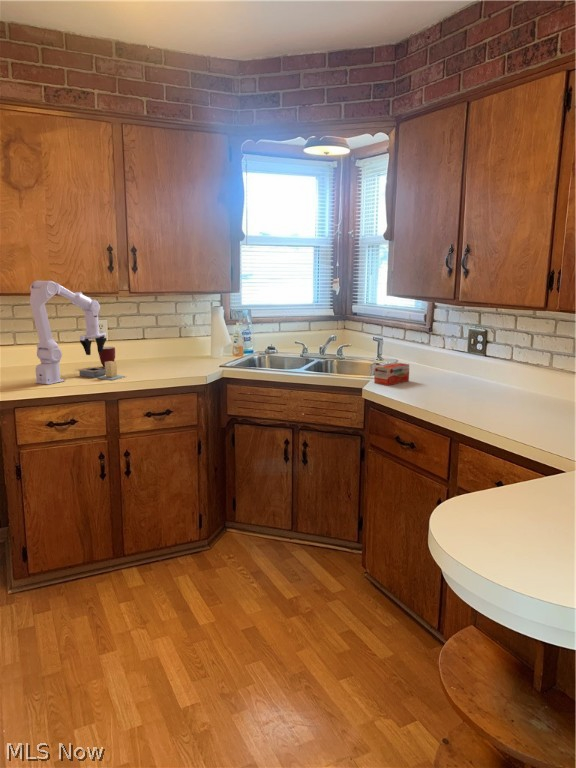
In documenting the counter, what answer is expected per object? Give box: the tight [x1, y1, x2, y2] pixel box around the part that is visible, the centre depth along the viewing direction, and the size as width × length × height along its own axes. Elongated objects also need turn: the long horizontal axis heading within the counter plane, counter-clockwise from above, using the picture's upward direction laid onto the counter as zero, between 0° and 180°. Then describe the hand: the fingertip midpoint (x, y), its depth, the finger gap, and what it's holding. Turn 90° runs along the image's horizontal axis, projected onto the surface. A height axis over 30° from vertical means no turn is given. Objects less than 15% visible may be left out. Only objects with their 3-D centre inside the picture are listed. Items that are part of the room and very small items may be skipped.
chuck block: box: [78, 366, 106, 379], centre depth 257 cm, size 9×9×3 cm
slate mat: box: [96, 374, 126, 381], centre depth 253 cm, size 9×9×1 cm
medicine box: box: [373, 361, 410, 386], centre depth 243 cm, size 15×8×8 cm, turn 132°
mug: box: [98, 346, 116, 368], centre depth 279 cm, size 10×8×10 cm
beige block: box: [105, 360, 118, 378], centre depth 252 cm, size 4×4×7 cm
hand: (94, 353), depth 261 cm, fingers open, 7 cm apart
